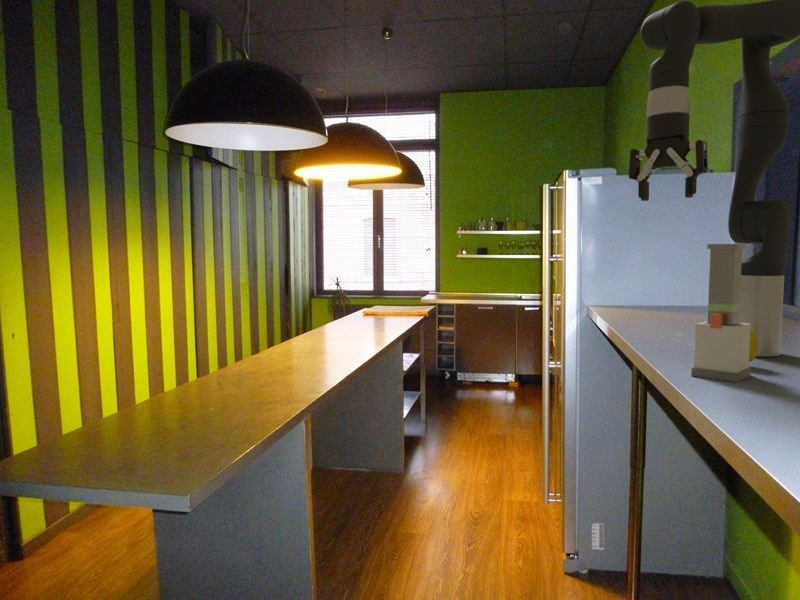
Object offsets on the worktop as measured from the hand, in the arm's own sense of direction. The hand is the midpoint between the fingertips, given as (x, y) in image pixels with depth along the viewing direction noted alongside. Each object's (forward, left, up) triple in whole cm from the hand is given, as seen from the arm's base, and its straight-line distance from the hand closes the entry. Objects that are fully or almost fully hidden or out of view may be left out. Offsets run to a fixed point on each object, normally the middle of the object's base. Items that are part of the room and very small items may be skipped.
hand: (666, 199), depth 118 cm
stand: (+4, +12, -33) cm, 35 cm away
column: (+4, +12, -26) cm, 29 cm away
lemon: (-8, +12, -33) cm, 36 cm away
